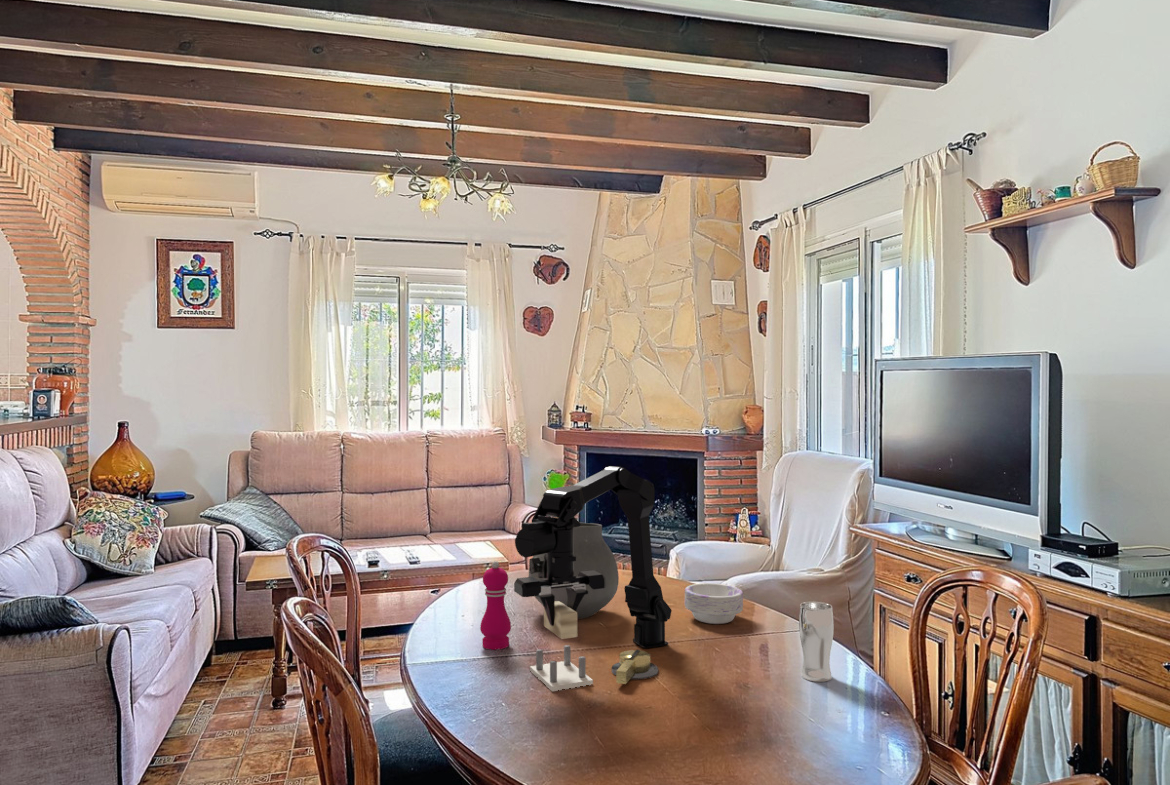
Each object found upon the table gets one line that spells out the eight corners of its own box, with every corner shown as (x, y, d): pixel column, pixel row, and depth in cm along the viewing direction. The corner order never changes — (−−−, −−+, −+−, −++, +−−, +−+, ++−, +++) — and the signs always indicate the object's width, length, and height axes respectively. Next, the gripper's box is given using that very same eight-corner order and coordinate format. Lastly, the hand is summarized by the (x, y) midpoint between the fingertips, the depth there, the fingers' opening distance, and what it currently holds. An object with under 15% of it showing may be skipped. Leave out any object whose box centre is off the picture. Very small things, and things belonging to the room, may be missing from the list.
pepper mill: (505, 651, 184) (505, 565, 184) (476, 649, 185) (475, 563, 185) (514, 641, 191) (514, 558, 191) (486, 640, 192) (485, 557, 192)
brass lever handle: (624, 660, 175) (624, 647, 175) (653, 663, 172) (653, 650, 172) (605, 681, 162) (605, 667, 162) (636, 685, 160) (636, 671, 160)
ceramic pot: (635, 611, 217) (635, 519, 217) (588, 634, 197) (587, 533, 197) (561, 598, 230) (561, 512, 230) (510, 619, 210) (509, 524, 210)
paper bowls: (755, 621, 207) (755, 590, 207) (712, 631, 199) (712, 599, 199) (714, 608, 220) (714, 579, 220) (672, 617, 211) (672, 587, 211)
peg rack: (529, 670, 171) (529, 647, 171) (568, 664, 174) (568, 642, 174) (552, 691, 159) (551, 666, 159) (592, 684, 163) (592, 660, 163)
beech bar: (577, 636, 163) (577, 612, 163) (561, 639, 162) (561, 614, 162) (558, 623, 172) (558, 600, 172) (543, 625, 171) (543, 602, 171)
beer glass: (834, 673, 169) (834, 602, 169) (833, 684, 162) (833, 611, 162) (800, 669, 171) (800, 600, 171) (798, 680, 164) (797, 608, 164)
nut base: (644, 660, 177) (644, 657, 177) (666, 675, 168) (666, 672, 168) (603, 667, 173) (603, 664, 173) (624, 682, 164) (624, 679, 164)
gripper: (585, 540, 178) (585, 609, 178) (505, 546, 170) (505, 619, 170) (606, 548, 168) (606, 622, 168) (523, 556, 160) (523, 634, 160)
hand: (560, 624), depth 167 cm, fingers closed on beech bar, 3 cm apart
